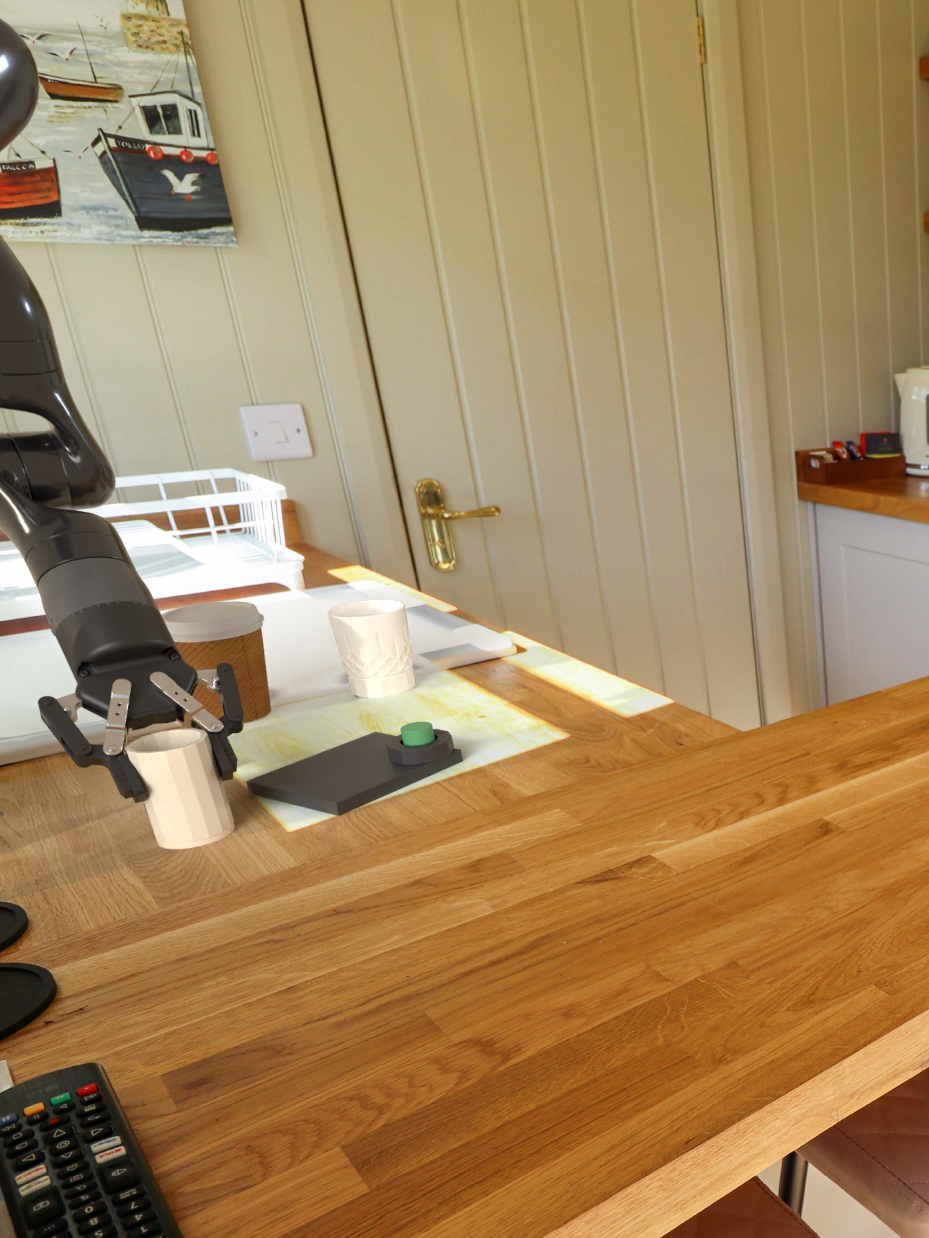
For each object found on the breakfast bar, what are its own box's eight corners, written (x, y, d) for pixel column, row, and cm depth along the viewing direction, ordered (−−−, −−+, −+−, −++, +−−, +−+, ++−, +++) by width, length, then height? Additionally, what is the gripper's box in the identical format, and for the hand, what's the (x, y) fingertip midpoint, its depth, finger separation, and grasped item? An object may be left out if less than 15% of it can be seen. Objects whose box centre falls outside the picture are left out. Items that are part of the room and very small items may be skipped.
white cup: (401, 701, 127) (382, 618, 123) (333, 700, 127) (312, 617, 123) (433, 679, 134) (417, 600, 130) (369, 678, 134) (351, 599, 130)
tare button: (418, 749, 107) (414, 733, 107) (397, 745, 108) (393, 728, 108) (441, 739, 110) (438, 723, 109) (421, 735, 111) (417, 719, 110)
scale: (342, 817, 99) (334, 787, 98) (249, 794, 103) (240, 765, 102) (469, 761, 112) (463, 733, 110) (381, 742, 116) (375, 716, 114)
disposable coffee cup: (180, 713, 122) (147, 609, 118) (278, 695, 128) (251, 595, 123) (193, 738, 116) (160, 629, 111) (296, 717, 122) (269, 613, 117)
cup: (185, 854, 92) (153, 757, 89) (142, 842, 94) (109, 746, 91) (250, 827, 97) (222, 734, 94) (207, 816, 99) (178, 724, 95)
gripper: (-6, 615, 87) (75, 793, 85) (206, 585, 97) (284, 743, 95) (6, 664, 93) (82, 833, 90) (205, 630, 103) (279, 781, 100)
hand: (185, 786), depth 93 cm, fingers closed on cup, 5 cm apart
